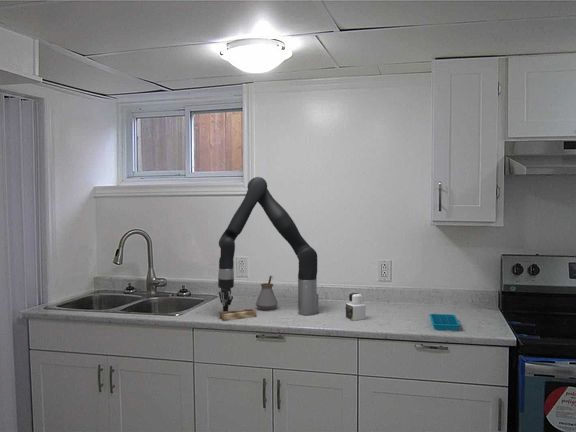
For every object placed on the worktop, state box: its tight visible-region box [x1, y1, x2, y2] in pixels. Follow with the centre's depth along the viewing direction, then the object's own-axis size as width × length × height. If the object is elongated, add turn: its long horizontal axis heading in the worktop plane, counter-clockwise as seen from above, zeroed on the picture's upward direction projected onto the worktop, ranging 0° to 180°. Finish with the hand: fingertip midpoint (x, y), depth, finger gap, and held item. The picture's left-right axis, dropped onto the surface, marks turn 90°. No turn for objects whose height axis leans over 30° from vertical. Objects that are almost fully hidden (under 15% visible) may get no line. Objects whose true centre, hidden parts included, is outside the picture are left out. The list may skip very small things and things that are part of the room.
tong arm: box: [218, 308, 253, 320], centre depth 254 cm, size 17×2×3 cm, turn 114°
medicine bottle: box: [345, 292, 367, 322], centre depth 249 cm, size 7×7×12 cm
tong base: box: [221, 308, 257, 322], centre depth 251 cm, size 18×3×3 cm, turn 119°
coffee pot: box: [255, 275, 279, 312], centre depth 275 cm, size 21×12×15 cm, turn 173°
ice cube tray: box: [429, 313, 461, 332], centre depth 236 cm, size 12×20×3 cm, turn 169°
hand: (225, 313), depth 254 cm, fingers closed
